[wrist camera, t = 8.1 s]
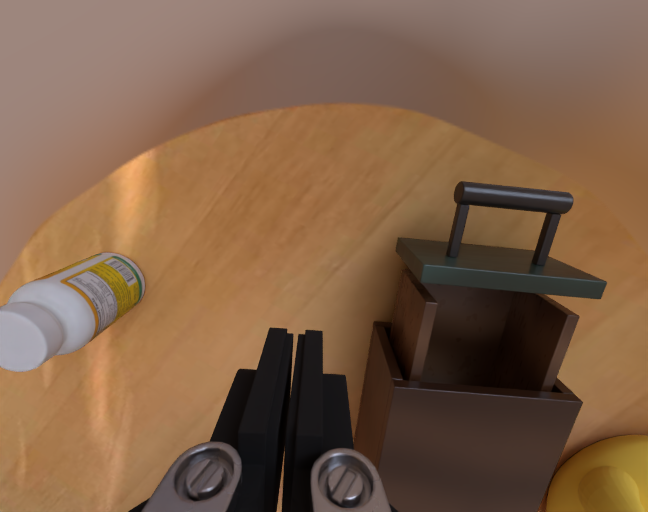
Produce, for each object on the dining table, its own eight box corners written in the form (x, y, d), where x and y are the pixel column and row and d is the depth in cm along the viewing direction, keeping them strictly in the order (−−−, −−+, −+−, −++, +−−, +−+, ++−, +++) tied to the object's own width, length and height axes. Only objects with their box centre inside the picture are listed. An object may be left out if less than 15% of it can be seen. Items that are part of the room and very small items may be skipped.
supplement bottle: (148, 256, 27) (56, 309, 18) (146, 313, 28) (62, 388, 19) (82, 245, 26) (-46, 292, 17) (84, 303, 28) (-32, 374, 19)
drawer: (408, 174, 24) (441, 180, 17) (555, 189, 24) (639, 201, 18) (372, 378, 29) (387, 440, 23) (493, 387, 30) (540, 452, 23)
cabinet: (373, 321, 29) (394, 387, 20) (509, 333, 29) (583, 402, 21) (353, 446, 33) (363, 542, 25) (471, 454, 33) (520, 552, 25)
